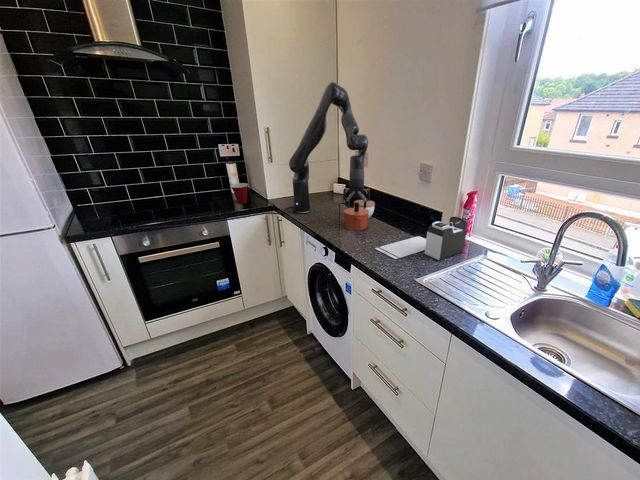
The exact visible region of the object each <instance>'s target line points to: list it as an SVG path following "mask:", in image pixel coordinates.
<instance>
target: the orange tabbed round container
mask: <svg viewBox="0 0 640 480" xmlns="http://www.w3.org/2000/svg"><path fill="white" fill-rule="evenodd" d="M368 223H369V218H368V214H367V215H363V216H352V215H347V214H345V213H344V228H345V229H347V230H350V231H363V230H366V229H367V228H368V225H369V224H368Z"/></svg>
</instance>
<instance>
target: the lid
mask: <svg viewBox="0 0 640 480" xmlns="http://www.w3.org/2000/svg"><path fill="white" fill-rule="evenodd" d="M343 212H344V215H345V214H347V215H352V216H363V215H367V214H368V213H369V211H368V210H366V209H363V208H359V202H354V201H353V207H349V208H346V209H344V210H343Z"/></svg>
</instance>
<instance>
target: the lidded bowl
mask: <svg viewBox="0 0 640 480" xmlns="http://www.w3.org/2000/svg"><path fill="white" fill-rule="evenodd" d="M354 202H359V208H363V209H364V200H363V199H357V200H355V201H353V203H354ZM375 206H376V203H375V201H374V200H370V201H367V203H366V208H365V209H366V210H368V211H369V213H368V219H370V218H371V217H372V216H373V214H374V212H375Z"/></svg>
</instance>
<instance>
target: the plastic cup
mask: <svg viewBox="0 0 640 480" xmlns="http://www.w3.org/2000/svg"><path fill="white" fill-rule="evenodd" d="M248 185H249V184H248V183H246V182H239V183H234V184H231V185H230V186H229V187H230V188H231V189H232V191H233V194H234V197H235V199H236V202H237V204H240V205H243V204H247V203H248V202H247V201H248Z"/></svg>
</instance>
